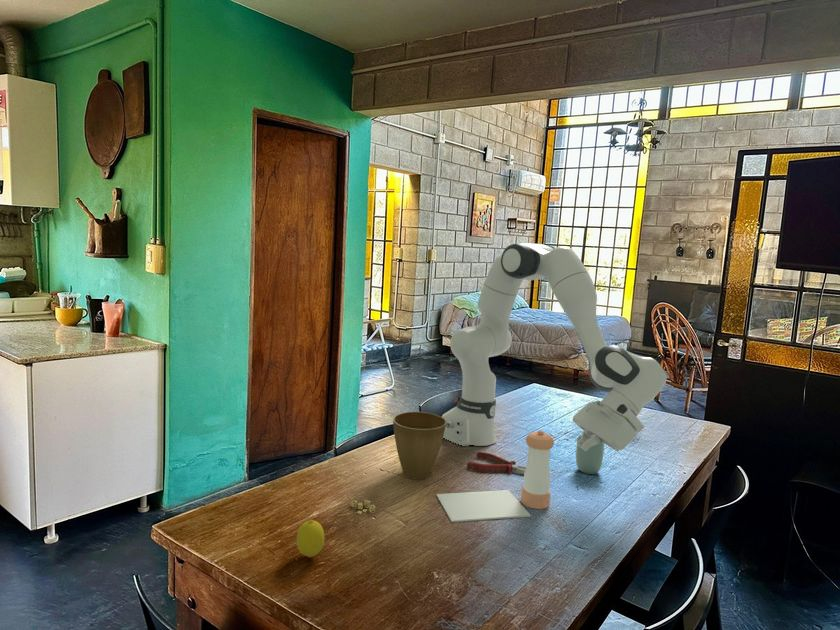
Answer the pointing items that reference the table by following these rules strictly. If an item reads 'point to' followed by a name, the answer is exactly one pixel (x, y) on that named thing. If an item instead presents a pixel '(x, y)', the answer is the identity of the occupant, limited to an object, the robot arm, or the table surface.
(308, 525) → the lemon
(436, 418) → the plant pot
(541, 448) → the pepper shaker
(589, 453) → the cup
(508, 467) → the pliers
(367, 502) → the dice set
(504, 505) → the mat
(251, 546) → the table surface
